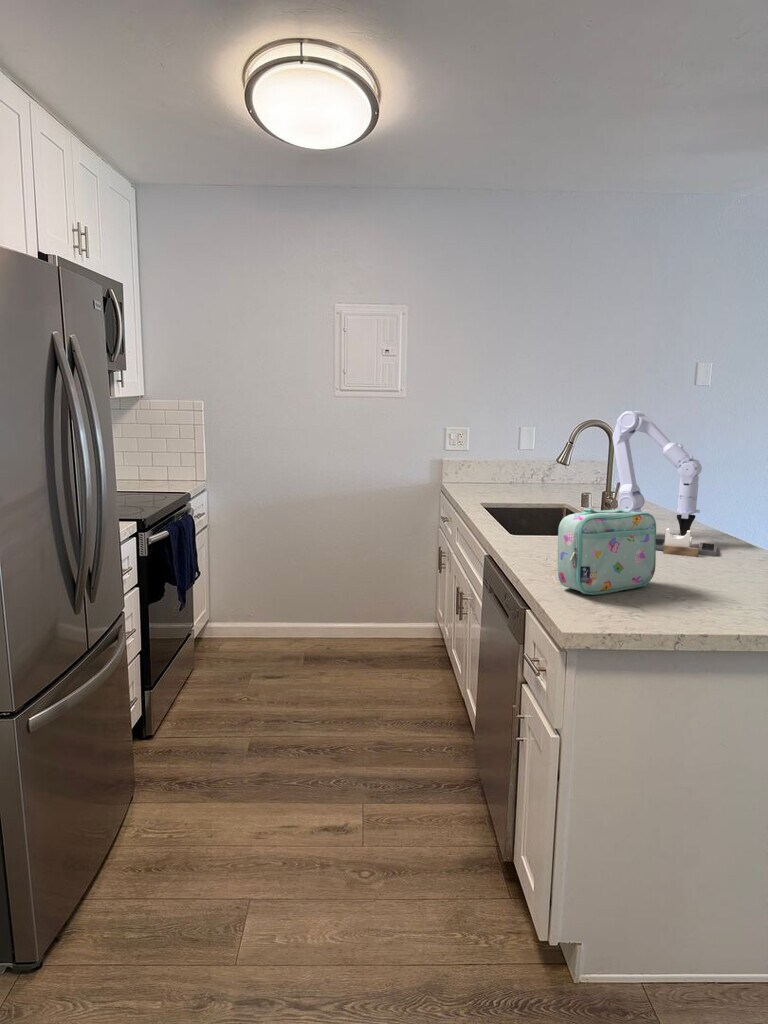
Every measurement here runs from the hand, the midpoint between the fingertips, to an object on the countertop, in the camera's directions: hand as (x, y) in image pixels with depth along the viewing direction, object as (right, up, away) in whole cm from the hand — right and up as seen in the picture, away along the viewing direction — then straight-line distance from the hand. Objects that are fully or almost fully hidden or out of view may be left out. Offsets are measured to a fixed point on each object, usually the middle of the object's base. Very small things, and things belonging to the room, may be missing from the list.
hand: (684, 536), depth 224 cm
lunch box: (-43, -12, -50) cm, 67 cm away
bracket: (-4, -4, -5) cm, 8 cm away
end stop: (-7, -5, -13) cm, 16 cm away
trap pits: (-3, -4, -5) cm, 7 cm away
